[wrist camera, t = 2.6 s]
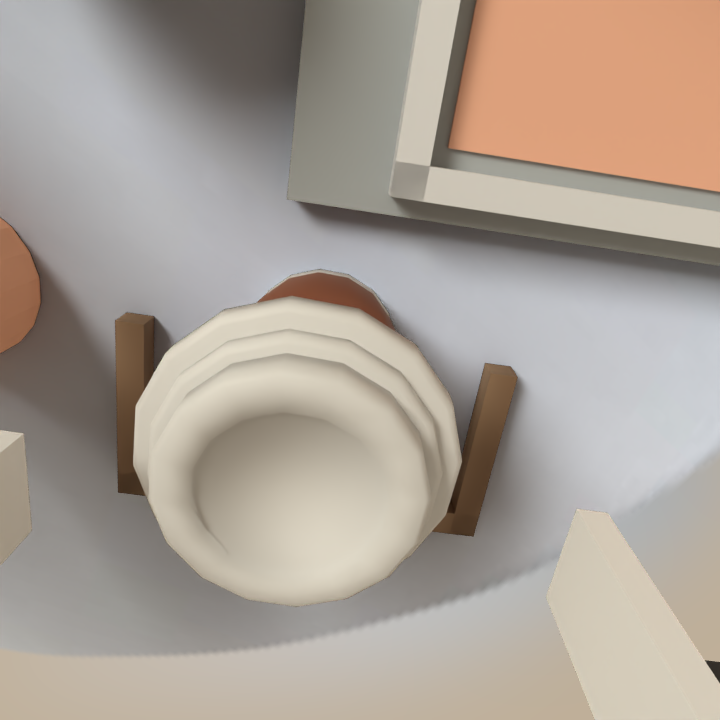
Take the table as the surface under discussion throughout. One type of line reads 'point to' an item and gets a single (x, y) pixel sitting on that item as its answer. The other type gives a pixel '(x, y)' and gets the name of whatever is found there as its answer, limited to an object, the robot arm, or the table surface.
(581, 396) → the table surface
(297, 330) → the coffee cup
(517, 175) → the pocket board
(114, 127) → the table surface
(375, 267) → the table surface
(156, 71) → the table surface
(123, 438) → the bracket
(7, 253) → the pepper shaker
